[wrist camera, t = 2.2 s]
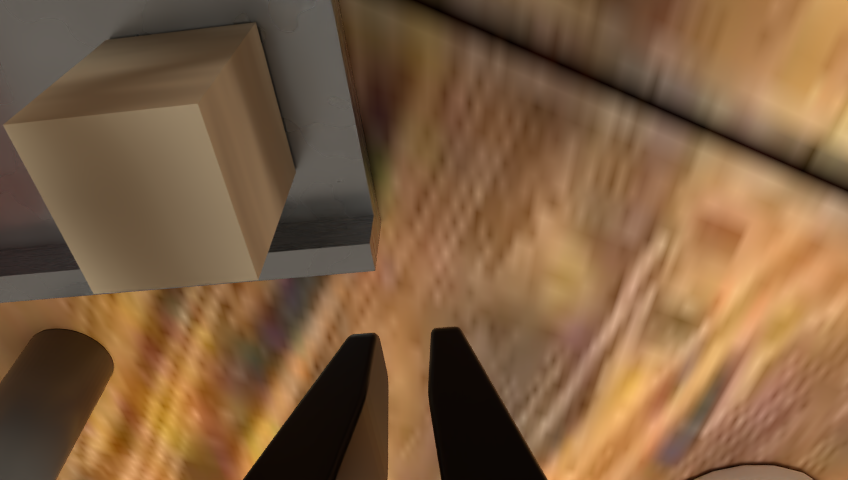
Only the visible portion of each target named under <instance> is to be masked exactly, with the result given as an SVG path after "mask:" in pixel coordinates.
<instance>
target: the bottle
mask: <svg viewBox="0 0 848 480" xmlns="http://www.w3.org/2000/svg"><path fill="white" fill-rule="evenodd" d="M694 480H813V479H812V478H811V477H809V476H808V475H806V474H805V473H802V472H799V471H795V470H791V469H786V468H782V467H778V466H774V465H742V466H737V467H732V468H727V469H722V470H717V471H712V472H710V473H708V474H705V475H703V476H701V477H698V478H696V479H694Z"/></svg>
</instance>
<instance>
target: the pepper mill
mask: <svg viewBox="0 0 848 480" xmlns="http://www.w3.org/2000/svg"><path fill="white" fill-rule="evenodd" d="M113 369H114V366H113V361H112V359H111V356H110V355H109V353H108V352H107V351H106V350H105V348H103V347H102V346H101V345H100V344H99V343H98V342H96V341H95V340H93V339H91V338H90V337H88V336H85V335H83V334H81V333H78V332H74V331H70V330H64V329H51V330H46V331H42V332H40V333H38V334H36V335H35V336H34V337H33V338H32V339H31V340H30V342H29V343H28V344H27V346H26V347H25V349H24V350H23V351H22V353H21V354H20V356H19V357H18V359H17V360H16V361H15V363H14V364H13V366H12V367H11V368H10V370H9V371H8V373H7V374H6V375H5V377H4V378H3V380H2V381H1V383H0V480H56V479H57V477H58V475H59V473H60V471H61V469H62V467H63V466H64V464H65V462H66V460H67V458H68V456H69V454H70V452H71V451H72V449H73V447H74V445H75V443H76V441H77V439H78V437H79V436H80V434H81V432H82V430H83V428H84V426H85V424H86V422H87V421H88V419H89V417H90V415H91V413H92V411H93V409H94V407H95V406H96V404H97V402H98V400H99V398H100V396H101V394H102V392H103V391H104V389H105V387H106V385H107V383H108V381H109V379H110V377H111V376H112V373H113Z"/></svg>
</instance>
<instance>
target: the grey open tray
mask: <svg viewBox="0 0 848 480" xmlns="http://www.w3.org/2000/svg"><path fill="white" fill-rule="evenodd" d="M253 22H256V25H257V28H258V32H259V36H260V40H261V43H262V47H263V51H264V55H265V58H266V62H267V66H268V69H269V73H270V77H271V81H272V84H273V88H274V92H275V96H276V99H277V103H278V107H279V111H280V114H281V118H282V122H283V126H284V129H285V133H286V137H287V141H288V144H289V148H290V152H291V155H292V159H293V163H294V167H295V170H296V174H295V176H294V179H293V182H292V185H291V188H290V191H289V194H288V196H287V199H286V202H285V205H284V208H283V211H282V214H281V216H280V219H279V222H278V225H277V228H276V231H275V234H274V236H273V239H272V242H271V245H270V248H269V251H268V254H267V256H266V259H265V262H264V265H263V268H262V271H261V274H260V276H259V279H258V280H253V281H262V280H273V279H285V278H297V277H309V276H320V275H332V274H344V273H356V272H367V271H375V269H376V261H377V253H378V244H379V236H380V228H381V220H380V215H379V210H378V205H377V200H376V194H375V189H374V184H373V179H372V174H371V168H370V163H369V158H368V153H367V147H366V142H365V137H364V132H363V127H362V121H361V116H360V111H359V106H358V100H357V95H356V90H355V85H354V80H353V74H352V69H351V64H350V59H349V54H348V48H347V43H346V38H345V33H344V27H343V22H342V17H341V12H340V7H339V1H338V0H0V303H3V302H15V301H27V300H38V299H50V298H62V297H74V296H85V295H97V294H93V292H92V290H91V288H90V286H89V284H88V282H87V281H86V279H85V277H84V275H83V273H82V271H81V269H80V268H79V266H78V264H77V262H76V260H75V258H74V256H73V255H72V253H71V251H70V249H69V247H68V245H67V243H66V242H65V240H64V238H63V236H62V234H61V232H60V230H59V228H58V227H57V225H56V223H55V221H54V219H53V217H52V215H51V214H50V212H49V210H48V208H47V206H46V204H45V202H44V201H43V199H42V197H41V195H40V193H39V191H38V189H37V188H36V186H35V184H34V182H33V180H32V178H31V176H30V174H29V173H28V171H27V169H26V167H25V165H24V163H23V161H22V160H21V158H20V156H19V154H18V152H17V150H16V148H15V147H14V145H13V143H12V141H11V139H10V137H9V135H8V134H7V132H6V130H5V128H4V126H3V124H5V123H6V122H7V121H8V120H9V119H11V118H12V117H13V116H14V115H16V114H17V113H18V112H19V111H20V110H22V109H23V108H24V107H25V106H26V105H28V104H29V103H30V102H31V101H33V100H34V99H35V98H36V97H37V96H39V95H40V94H41V93H42V92H43V91H45V90H46V89H47V88H48V87H50V86H51V85H52V84H53V83H54V82H56V81H57V80H58V79H59V78H60V77H62V76H63V75H64V74H65V73H67V72H68V71H69V70H70V69H71V68H73V67H74V66H75V65H76V64H77V63H79V62H80V61H81V60H82V59H84V58H85V57H86V56H87V55H88V54H90V53H91V52H92V51H93V50H95V49H96V48H97V47H98V46H99V45H101V44H102V43H103V42H104V41H105V40H110V39H118V38H127V37H135V36H144V35H152V34H161V33H169V32H177V31H186V30H194V29H203V28H211V27H219V26H228V25H236V24H245V23H253ZM242 282H250V281H242ZM230 283H238V282H230ZM218 284H226V283H218ZM206 285H215V284H206ZM195 286H203V285H195ZM183 287H191V286H183ZM171 288H179V287H171ZM160 289H168V288H160ZM148 290H156V289H148ZM136 291H144V290H136ZM124 292H132V291H124ZM113 293H121V292H113ZM101 294H109V293H101Z"/></svg>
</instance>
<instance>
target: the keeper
mask: <svg viewBox="0 0 848 480" xmlns="http://www.w3.org/2000/svg"><path fill="white" fill-rule="evenodd" d="M3 126H4V128H5V130H6V132H7V134H8V135H9V137H10V139H11V141H12V143H13V145H14V147H15V148H16V150H17V152H18V154H19V156H20V158H21V160H22V161H23V163H24V165H25V167H26V169H27V171H28V173H29V174H30V176H31V178H32V180H33V182H34V184H35V186H36V188H37V189H38V191H39V193H40V195H41V197H42V199H43V201H44V202H45V204H46V206H47V208H48V210H49V212H50V214H51V215H52V217H53V219H54V221H55V223H56V225H57V227H58V228H59V230H60V232H61V234H62V236H63V238H64V240H65V242H66V243H67V245H68V247H69V249H70V251H71V253H72V255H73V256H74V258H75V260H76V262H77V264H78V266H79V268H80V269H81V271H82V273H83V275H84V277H85V279H86V281H87V282H88V284H89V286H90V288H91V290H92V292H93V294H101V293H113V292H124V291H136V290H148V289H160V288H171V287H183V286H195V285H206V284H218V283H230V282H242V281H253V280H258V279H259V276H260V274H261V271H262V268H263V265H264V262H265V259H266V256H267V254H268V251H269V248H270V245H271V242H272V239H273V236H274V234H275V231H276V228H277V225H278V222H279V219H280V216H281V214H282V211H283V208H284V205H285V202H286V199H287V196H288V194H289V191H290V188H291V185H292V182H293V179H294V176H295V174H296V170H295V167H294V163H293V159H292V155H291V152H290V148H289V144H288V141H287V137H286V133H285V129H284V126H283V122H282V118H281V114H280V111H279V107H278V103H277V99H276V96H275V92H274V88H273V84H272V81H271V77H270V73H269V69H268V66H267V62H266V58H265V55H264V51H263V47H262V43H261V40H260V36H259V32H258V28H257V25H256V22H253V23H245V24H236V25H228V26H219V27H211V28H203V29H194V30H186V31H177V32H169V33H161V34H152V35H144V36H135V37H127V38H118V39H110V40H105V41H104V42H103V43H102V44H101V45H99V46H98V47H97V48H96V49H95V50H93V51H92V52H91V53H90V54H88V55H87V56H86V57H85V58H84V59H82V60H81V61H80V62H79V63H77V64H76V65H75V66H74V67H73V68H71V69H70V70H69V71H68V72H67V73H65V74H64V75H63V76H62V77H60V78H59V79H58V80H57V81H56V82H54V83H53V84H52V85H51V86H50V87H48V88H47V89H46V90H45V91H43V92H42V93H41V94H40V95H39V96H37V97H36V98H35V99H34V100H33V101H31V102H30V103H29V104H28V105H26V106H25V107H24V108H23V109H22V110H20V111H19V112H18V113H17V114H16V115H14V116H13V117H12V118H11V119H9V120H8V121H7V122H6V123H5V124H3Z"/></svg>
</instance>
